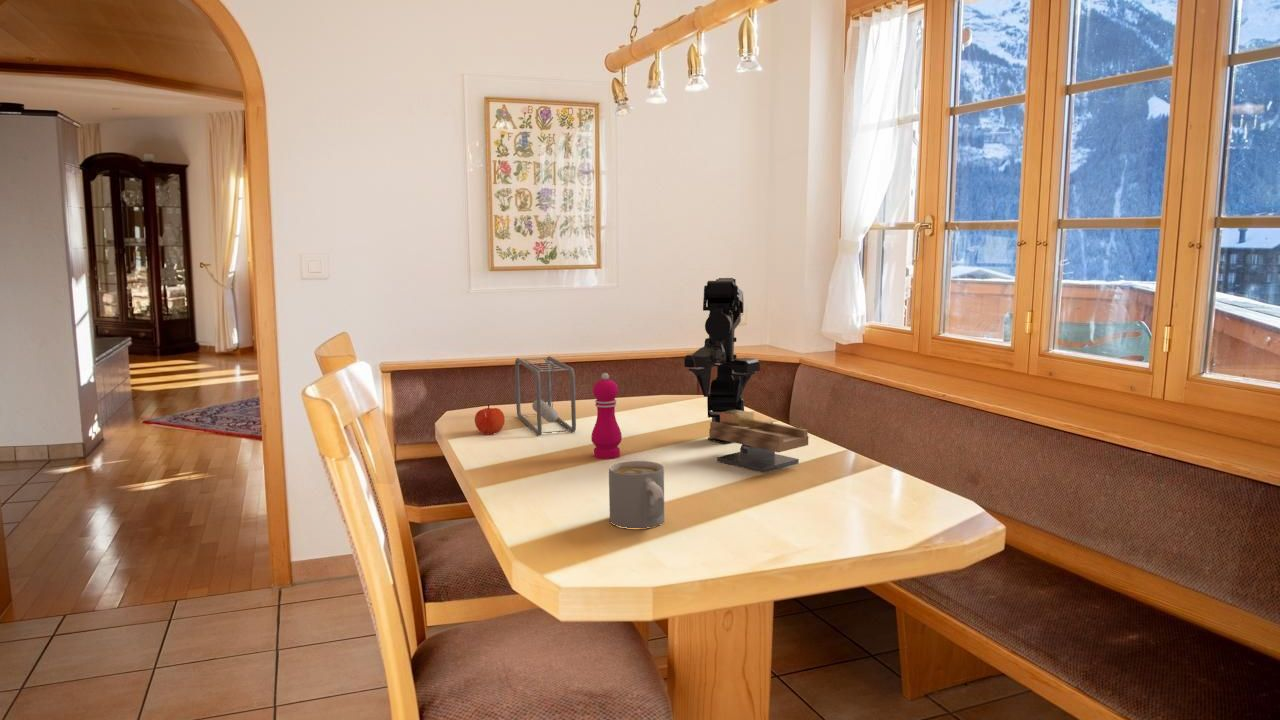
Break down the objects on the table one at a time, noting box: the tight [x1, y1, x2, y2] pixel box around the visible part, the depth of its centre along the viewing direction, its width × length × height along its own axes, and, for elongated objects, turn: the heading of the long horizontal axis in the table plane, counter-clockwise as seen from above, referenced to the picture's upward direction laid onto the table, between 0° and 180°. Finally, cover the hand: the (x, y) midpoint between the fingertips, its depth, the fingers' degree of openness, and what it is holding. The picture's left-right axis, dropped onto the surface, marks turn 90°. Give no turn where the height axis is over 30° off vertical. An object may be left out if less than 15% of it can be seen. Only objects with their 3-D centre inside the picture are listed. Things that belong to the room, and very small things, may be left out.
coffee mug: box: [608, 460, 666, 528], centre depth 155 cm, size 13×10×10 cm
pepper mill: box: [590, 372, 623, 460], centre depth 205 cm, size 7×7×20 cm
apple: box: [474, 403, 506, 435], centre depth 233 cm, size 8×8×8 cm
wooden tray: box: [708, 419, 809, 453], centre depth 197 cm, size 21×10×4 cm, turn 40°
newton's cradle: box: [514, 355, 577, 436], centre depth 243 cm, size 30×10×18 cm, turn 19°
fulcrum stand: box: [716, 444, 800, 474], centre depth 198 cm, size 14×12×5 cm
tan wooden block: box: [720, 409, 755, 429], centre depth 202 cm, size 6×5×4 cm
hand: (721, 398), depth 206 cm, fingers open, 9 cm apart
